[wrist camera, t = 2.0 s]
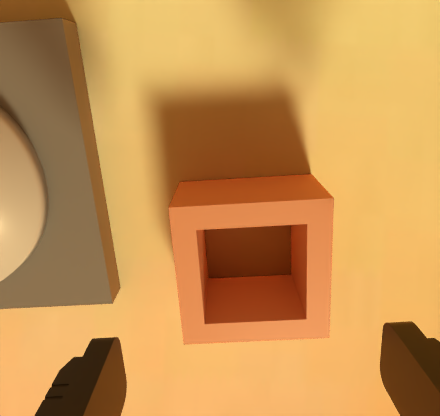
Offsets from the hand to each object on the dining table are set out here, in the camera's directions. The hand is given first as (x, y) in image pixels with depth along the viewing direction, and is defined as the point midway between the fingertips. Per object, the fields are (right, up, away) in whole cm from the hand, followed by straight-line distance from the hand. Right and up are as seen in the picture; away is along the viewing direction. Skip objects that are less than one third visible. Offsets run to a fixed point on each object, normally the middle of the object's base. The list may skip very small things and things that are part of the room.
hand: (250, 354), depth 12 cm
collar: (+1, +3, +8) cm, 9 cm away
